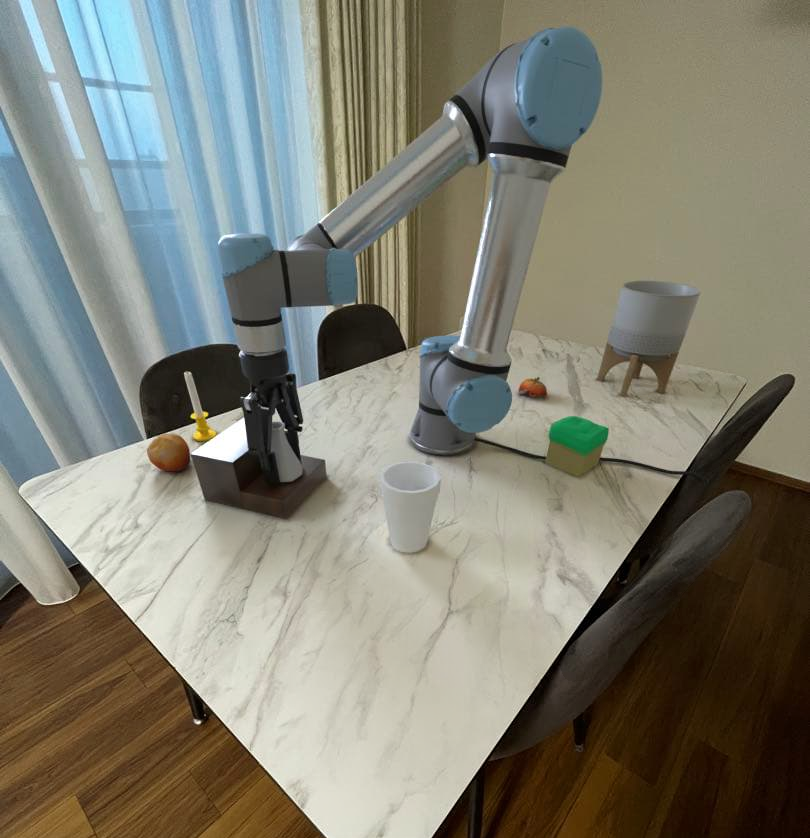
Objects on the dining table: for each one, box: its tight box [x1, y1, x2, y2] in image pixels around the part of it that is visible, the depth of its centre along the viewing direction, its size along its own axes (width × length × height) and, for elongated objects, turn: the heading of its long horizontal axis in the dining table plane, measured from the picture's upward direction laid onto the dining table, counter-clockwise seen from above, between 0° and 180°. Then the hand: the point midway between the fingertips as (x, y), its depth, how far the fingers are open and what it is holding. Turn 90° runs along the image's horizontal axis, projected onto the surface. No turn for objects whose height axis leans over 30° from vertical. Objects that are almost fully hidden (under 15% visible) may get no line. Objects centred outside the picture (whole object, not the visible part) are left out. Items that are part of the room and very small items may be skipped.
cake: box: [544, 415, 610, 478], centre depth 100 cm, size 10×11×10 cm
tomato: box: [518, 376, 548, 398], centre depth 131 cm, size 8×7×7 cm
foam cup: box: [379, 460, 441, 554], centre depth 77 cm, size 10×9×13 cm
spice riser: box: [190, 417, 328, 520], centre depth 91 cm, size 18×16×10 cm
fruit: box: [146, 433, 192, 472], centre depth 98 cm, size 8×8×8 cm
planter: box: [596, 280, 702, 398], centre depth 130 cm, size 19×19×26 cm
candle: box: [183, 371, 218, 442], centre depth 106 cm, size 5×5×16 cm
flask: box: [271, 421, 303, 482], centre depth 87 cm, size 7×7×10 cm
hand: (284, 472), depth 90 cm, fingers closed on flask, 7 cm apart
